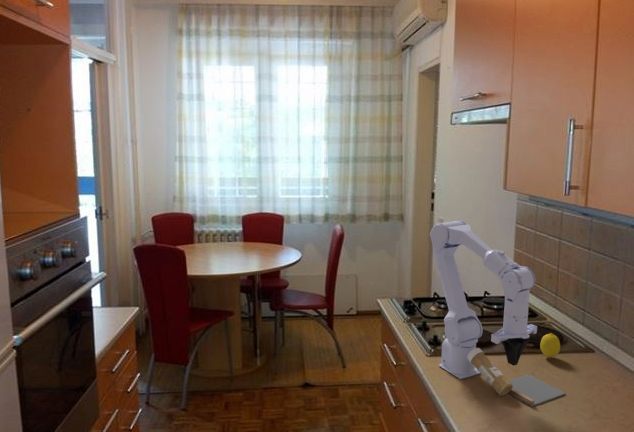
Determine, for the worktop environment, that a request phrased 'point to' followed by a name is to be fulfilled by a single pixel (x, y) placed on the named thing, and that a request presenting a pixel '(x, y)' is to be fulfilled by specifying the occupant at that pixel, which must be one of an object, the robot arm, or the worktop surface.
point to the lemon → (550, 345)
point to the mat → (533, 390)
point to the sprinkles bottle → (489, 371)
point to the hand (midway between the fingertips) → (512, 363)
